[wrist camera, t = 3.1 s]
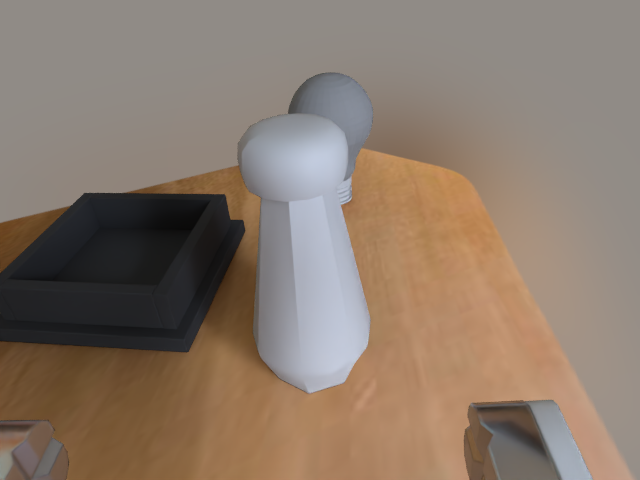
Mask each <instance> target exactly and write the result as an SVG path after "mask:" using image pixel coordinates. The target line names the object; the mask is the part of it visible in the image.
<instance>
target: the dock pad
mask: <svg viewBox="0 0 640 480" xmlns="http://www.w3.org/2000/svg"><path fill="white" fill-rule="evenodd" d="M244 232H245V227H244V221H243V220H230V216H229V211H228V206H227V201H226V196H225V194H215V195H214V194H140V193H84V194H83V195H82V196H81V197H80V198H79V199H78V200H77V201H76V202H75V203H74V204H73V205H72V206H71V207H70V208H68V209H67V210H66V211H65V212H64V213H63V214H62V215H61V216H60V217H59V218H58V219H57V220H56V221H55V222H54V223H53V224H52V225H51V226H50V227H49V228H47V229H46V230H45V231H44V232H43V233H42V234H41V235H40V236H39V237H38V238H37V239H36V240H35V241H34V242H33V243H32V244H31V245H30V246H29V247H28V248H27V249H25V250H24V251H23V252H22V253H21V254H20V255H19V256H18V257H17V258H16V259H15V260H14V261H13V262H12V263H11V264H10V265H9V266H8V267H7V268H6V269H4V270H3V271H2V272H1V273H0V341H13V342H29V343H46V344H62V345H78V346H94V347H111V348H127V349H143V350H160V351H176V352H188V351H189V349H190V347H191V345H192V343H193V341H194V339H195V337H196V335H197V332H198V330H199V328H200V326H201V324H202V322H203V320H204V317H205V315H206V313H207V311H208V309H209V307H210V305H211V303H212V300H213V298H214V296H215V294H216V292H217V290H218V288H219V286H220V283H221V281H222V279H223V277H224V275H225V273H226V271H227V269H228V266H229V264H230V262H231V260H232V258H233V256H234V254H235V251H236V249H237V247H238V245H239V243H240V241H241V239H242V237H243V234H244Z"/></svg>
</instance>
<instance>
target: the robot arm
mask: <svg viewBox="0 0 640 480" xmlns="http://www.w3.org/2000/svg"><path fill="white" fill-rule="evenodd" d="M468 419H469V423H470V426H469V427H468V428H467V429H465V435H464V456H465V461H466V467H467V471H468V475H469V480H593V478H592V476H591V474H590V472H589V470H588V468H587V466H586V464H585V462H584V459H583V457H582V455H581V453H580V451H579V449H578V447H577V445H576V442H575V440H574V438H573V436H572V434H571V432H570V430H569V428H568V425H567V423H566V421H565V419H564V417H563V415H562V413H561V411H560V408H559V406H558V405H557V404H556V403H555V402H554V401H553V400H537V401H523V400H520V401H501V402H482V403H471V404H470V406H469V409H468ZM54 431H55V429H54V428H53V426H52V425H51V423H50V422H49V420H6V421H0V480H66V479H67V474H68V468H69V458H68V452H67V450H66V448H65V446H64V444H62V443H61V442H59V441H57V440H56V439H54V438H52V436H53V434H54Z"/></svg>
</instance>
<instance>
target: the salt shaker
mask: <svg viewBox="0 0 640 480" xmlns="http://www.w3.org/2000/svg"><path fill="white" fill-rule="evenodd" d="M238 163H239V167H240V172H241V175H242V178H243V180H244V183H245V185H246V187H247V189H248V190H249V192H251V193H253V194H255V195H257V196H259V197H261V206H260V223H259V239H258V256H257V273H256V289H255V306H254V322H253V335H254V339H255V342H256V346H257V349H258V352H259V355H260V357H261V359H262V360H263V361H264V362H265V363H266V364H267V365H268V367H269V368H270V369H271V370H272V371H273V372H274V373H275V374H276V375H277V376H278V377H279V378H280V379H281V380H283V381H285V382H287V383H289V384H291V385H293V386H295V387H297V388H299V389H301V390H303V391H305V392H307V393H312V392H316V391H319V390H322V389H326V388H329V387H332V386H335V385H339V384H342V383H344V382H345V380H346V378H347V376H348V374H349V373H350V371H351V369H352V367H353V365H354V363H355V362H356V361H357V359H358V358H359V357H360V356H361V354H362V353H363V352H364V350H365V349H366V348H367V345H368V339H369V330H370V316H369V312H368V308H367V304H366V300H365V297H364V293H363V289H362V285H361V281H360V277H359V273H358V270H357V266H356V262H355V258H354V254H353V250H352V247H351V243H350V239H349V235H348V231H347V227H346V223H345V220H344V216H343V212H342V208H341V204H340V200H339V197H338V193H337V189H336V187H337V186H339V185H340V184H341V183H342V182H343V180H344V177H345V174H346V170H347V165H348V145H347V140H346V136H345V133H344V132H343V131H342V130H341V129H340V128H339V127H338V126H337V125H336V124H335V123H334V122H332V121H331V120H330V119H329V118H325V117H322V116H319V115H316V114H303V113H295V114H284V115H277V116H274V117H270V118H266V119H263V120H261V121H259V122H257V123H255V124H253V125H252V126H250V127H249V128H248V129H247V131H246V132H245V133H244V135H243V136H242V138H241V139H240V141H239V142H238Z"/></svg>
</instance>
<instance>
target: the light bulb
mask: <svg viewBox="0 0 640 480" xmlns="http://www.w3.org/2000/svg"><path fill="white" fill-rule="evenodd" d="M295 113H303V114H316V115H319V116H322V117H325V118H329V119H330V120H331V121H332V122H334V123H335V124H336V125H337V126H338V127H339V128H340V129H341V130H342V131H343V132H344V133H345V136H346V140H347V145H348V165H347V170H346V174H345V177H344V180H343V182H342V183H341V184H340V185H339V186H337V187H336V189H337V193H338V197H339V200H340V204H341V205H342V204H345V203H347V202H349V201H350V200H351V198H352V191H351V188H352V186H351V176H352V174H353V172H354V169H355V162H356V157H357V155H358V153H359V151H360V149H361V148H362V146H363V145H364V143H365V141H366V139H367V137H368V135H369V133H370V131H371V127H372V122H373V108H372V104H371V101H370V99H369V97H368V95H367V94H366V92H365V90H364V89H363V88H362V87H361V86H360V85H359V84H358V83H357V82H356V81H355V80H354V79H352V78H350V77H349V76H347V75H343V74H340V73H322V74H318V75H315V76H313V77H311V78H309V79H308V80H306V81H305V82H304V83H303V84H302V85H301V86H300V87H299V89H298V90H297V91H296V93H295V94H294V96H293V98H292V101H291V104H290V106H289V111H288V114H295Z"/></svg>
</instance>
